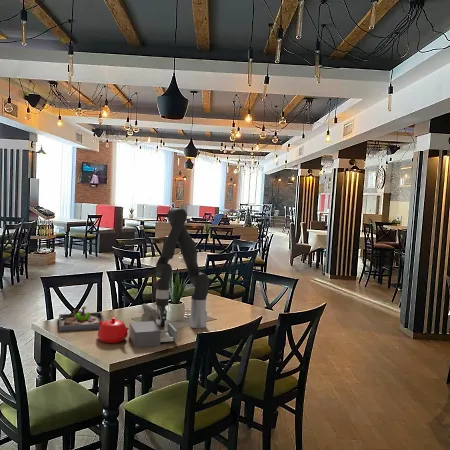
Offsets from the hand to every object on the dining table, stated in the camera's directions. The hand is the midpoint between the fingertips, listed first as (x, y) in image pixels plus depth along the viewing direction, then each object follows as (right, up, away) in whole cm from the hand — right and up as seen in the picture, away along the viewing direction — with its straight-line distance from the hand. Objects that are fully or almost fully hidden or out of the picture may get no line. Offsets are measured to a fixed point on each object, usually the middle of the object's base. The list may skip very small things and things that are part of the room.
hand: (161, 325), depth 242 cm
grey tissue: (-9, -3, +17) cm, 19 cm away
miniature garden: (-48, -1, +8) cm, 49 cm away
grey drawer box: (+2, -3, -14) cm, 15 cm away
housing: (-6, -4, -18) cm, 19 cm away
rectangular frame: (-48, -1, +7) cm, 49 cm away
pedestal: (0, -4, 0) cm, 4 cm away
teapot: (-23, -4, -19) cm, 30 cm away
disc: (0, +1, 0) cm, 1 cm away
